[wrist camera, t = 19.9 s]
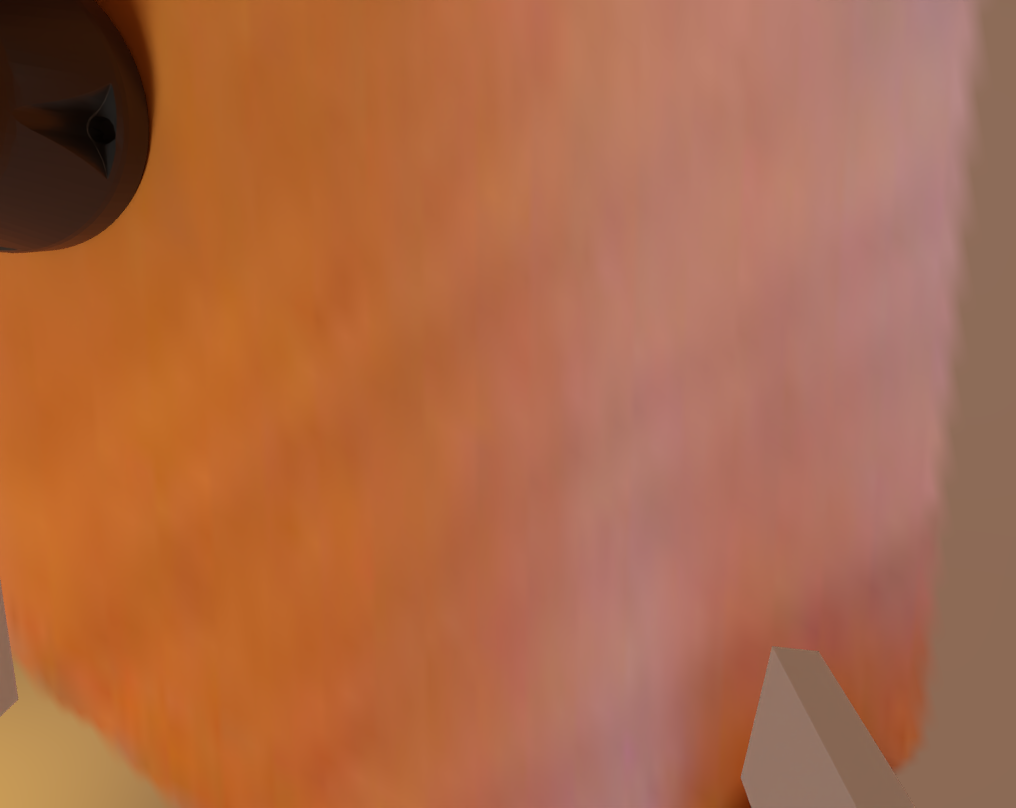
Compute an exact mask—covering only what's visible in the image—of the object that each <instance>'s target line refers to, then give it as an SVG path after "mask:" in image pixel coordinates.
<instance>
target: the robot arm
mask: <svg viewBox="0 0 1016 808" xmlns="http://www.w3.org/2000/svg"><path fill="white" fill-rule="evenodd" d="M148 138H149V122H148V111H147V104H146V98H145V94H144V89H143V86H142V82H141V79H140V76H139V73H138V70H137V67H136V65H135V62H134V60H133V58H132V55H131V53H130V51H129V49H128V47H127V45H126V43H125V42H124V40H123V38H122V36H121V35H120V33H119V32H118V30H117V29H116V27H115V26H114V24H113V23H112V21H111V20H110V19H109V17H108V16H107V15H106V13H105V12H104V11H103V10H102V9H101V8H100V6H99V5H98V4H97V3H96V2H95V1H94V0H0V252H7V253H27V252H39V251H51V250H59V249H64V248H68V247H72V246H75V245H78V244H80V243H83V242H85V241H87V240H89V239H91V238H93V237H94V236H96V235H98V234H99V233H101V232H102V231H104V230H105V229H106V228H107V227H108V226H110V225H111V224H112V223H113V222H114V221H115V220H116V219H117V218H118V217H119V216H120V214H121V213H122V212H123V211H124V209H125V208H126V207H127V205H128V204H129V202H130V200H131V199H132V197H133V195H134V193H135V191H136V189H137V187H138V185H139V182H140V179H141V177H142V174H143V170H144V166H145V162H146V157H147V150H148ZM17 700H18V694H17V688H16V681H15V674H14V668H13V661H12V655H11V648H10V641H9V635H8V628H7V622H6V615H5V608H4V602H3V595H2V589H1V582H0V716H1V715H2V714H3V713H5V712H6V710H7V709H9V708H10V707H11V706H12V705H13V704H14V703H15V702H16V701H17ZM741 780H742V782H743V785H744V788H745V791H746V794H747V797H748V800H749V802H750V805H751V808H916V807H915V805H914V804H913V802H912V801H911V799H910V798H909V796H908V794H907V793H906V791H905V790H904V788H903V786H902V785H901V783H900V781H899V780H898V778H897V777H896V775H895V773H894V772H893V770H892V769H891V767H890V765H889V764H888V762H887V760H886V759H885V757H884V756H883V754H882V752H881V751H880V749H879V748H878V746H877V744H876V743H875V741H874V740H873V738H872V736H871V735H870V733H869V732H868V730H867V728H866V727H865V725H864V724H863V722H862V720H861V719H860V717H859V716H858V714H857V712H856V711H855V709H854V708H853V706H852V704H851V703H850V701H849V699H848V698H847V696H846V695H845V693H844V691H843V690H842V688H841V687H840V685H839V683H838V682H837V680H836V679H835V677H834V675H833V674H832V672H831V671H830V669H829V667H828V666H827V664H826V663H825V661H824V659H823V658H822V656H821V655H820V653H819V651H812V650H802V649H792V648H783V647H773V646H772V649H771V653H770V658H769V662H768V666H767V670H766V674H765V679H764V683H763V687H762V691H761V695H760V699H759V704H758V708H757V712H756V716H755V720H754V725H753V729H752V733H751V737H750V741H749V745H748V750H747V754H746V758H745V762H744V766H743V771H742V775H741Z"/></svg>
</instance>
